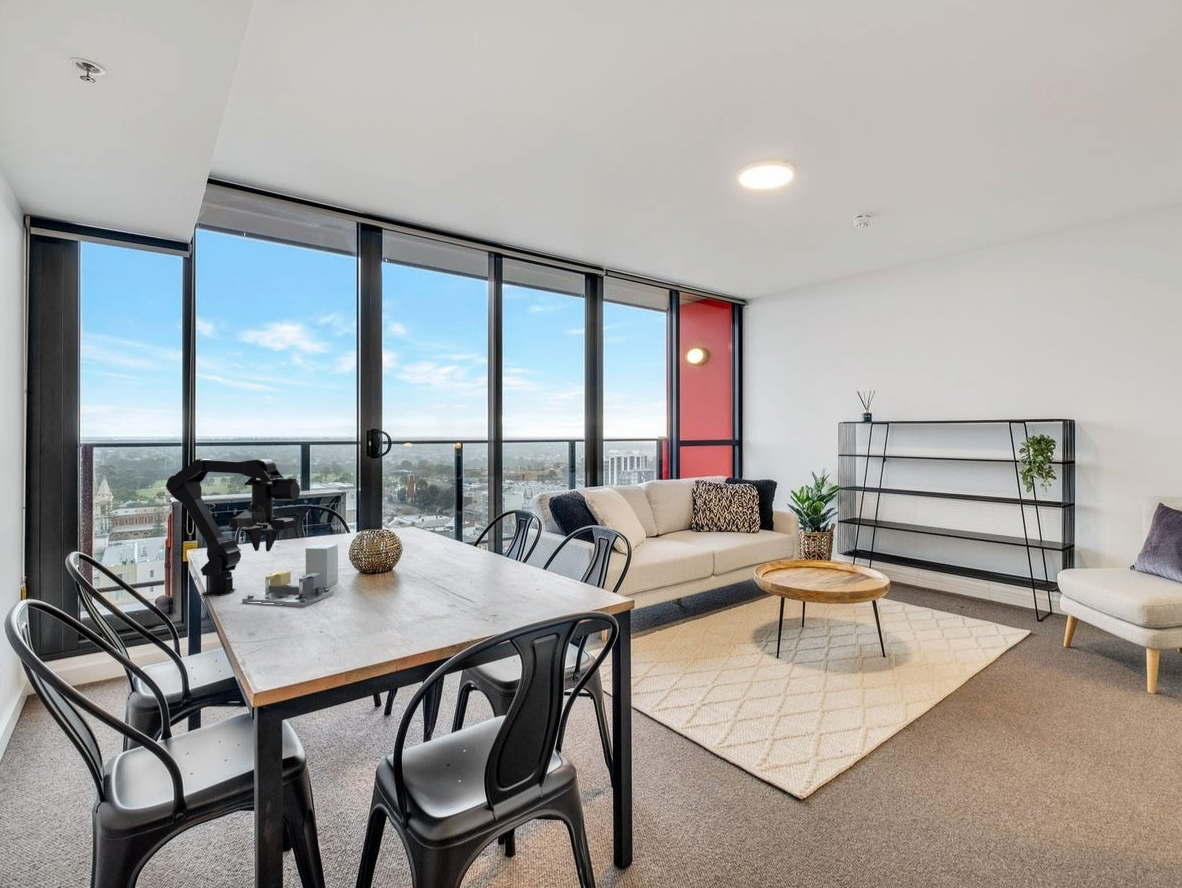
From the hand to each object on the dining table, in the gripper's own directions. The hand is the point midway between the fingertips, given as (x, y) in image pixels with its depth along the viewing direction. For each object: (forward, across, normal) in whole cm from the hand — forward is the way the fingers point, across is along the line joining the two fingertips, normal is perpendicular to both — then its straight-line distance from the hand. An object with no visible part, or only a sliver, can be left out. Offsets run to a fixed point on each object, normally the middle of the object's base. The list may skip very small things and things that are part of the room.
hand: (262, 551), depth 185 cm
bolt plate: (+13, +12, -3) cm, 18 cm away
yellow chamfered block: (+11, +7, -3) cm, 14 cm away
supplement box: (+13, +11, +14) cm, 22 cm away
